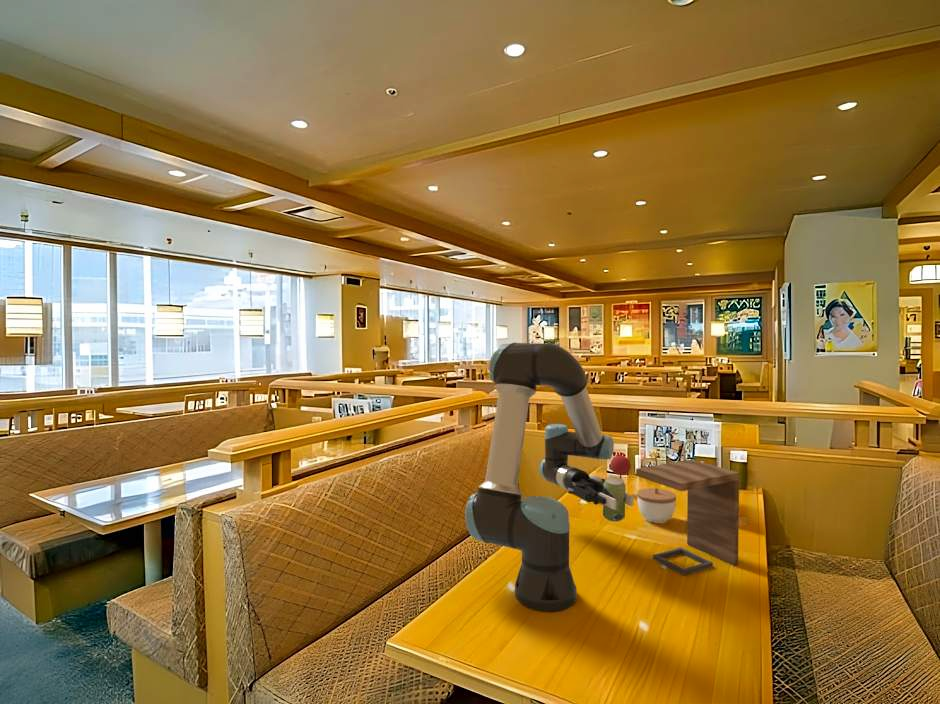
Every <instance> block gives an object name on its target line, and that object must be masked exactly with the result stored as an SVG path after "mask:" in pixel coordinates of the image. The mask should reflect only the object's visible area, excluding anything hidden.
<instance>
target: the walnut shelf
mask: <svg viewBox="0 0 940 704" xmlns="http://www.w3.org/2000/svg"><path fill="white" fill-rule="evenodd" d="M635 475H636V476H637V477H638V478H642V479H644V480H648V481H650V482H653V483H656V484H659V485H662V486H665V487H667V488H670V489H674V490H677V491H679V492H685V491H687V512H686V514H687V516H686V517H687V523H686V525H687V527H686V532H687V533H686V545H687V544H688V545H687V546H689V547H691V548H693V549H696V550H697V551H700V552H702V553H704V552H705V554H706V553H707V555H708V554H709V556H711V557H713V556H714V557H713V558H715V557H716V558H715V559H717V558H718V559H717V560H719V559H720V560H719V561H721V560H722V562H723V563H726V564H728V563H729V564H728V565H730V566H732V565H733V566H732V567H737V565H738V566H739V527H740V526H739V525H740V524H739V521H740V519H739V518H740V517H739V516H740V515H739V514H740V509H739V508H740V472H739V471H734V470H732V469H728V468H723V467H720V466H717V465H713V464H710V463H705V462H704V463H702V462H700V461H698V460H694V459H687V460H686V459H685V460H681V461H674V462H668V463H663V464H656V465H650V466H646V467H639V468H636V469H635Z"/></svg>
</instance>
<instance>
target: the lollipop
mask: <svg viewBox="0 0 940 704" xmlns="http://www.w3.org/2000/svg"><path fill="white" fill-rule="evenodd" d="M609 466H610V470H611V471H612V472H613V473H614V474H615V475H618V476H619V478H621V479H622V476H625V475H627V474H629V472H630V471H631V468H632V465H631V461H630V460H629V458H627V456H625V455H615V456H614V457H612V459H611V461H610V464H609Z"/></svg>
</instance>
